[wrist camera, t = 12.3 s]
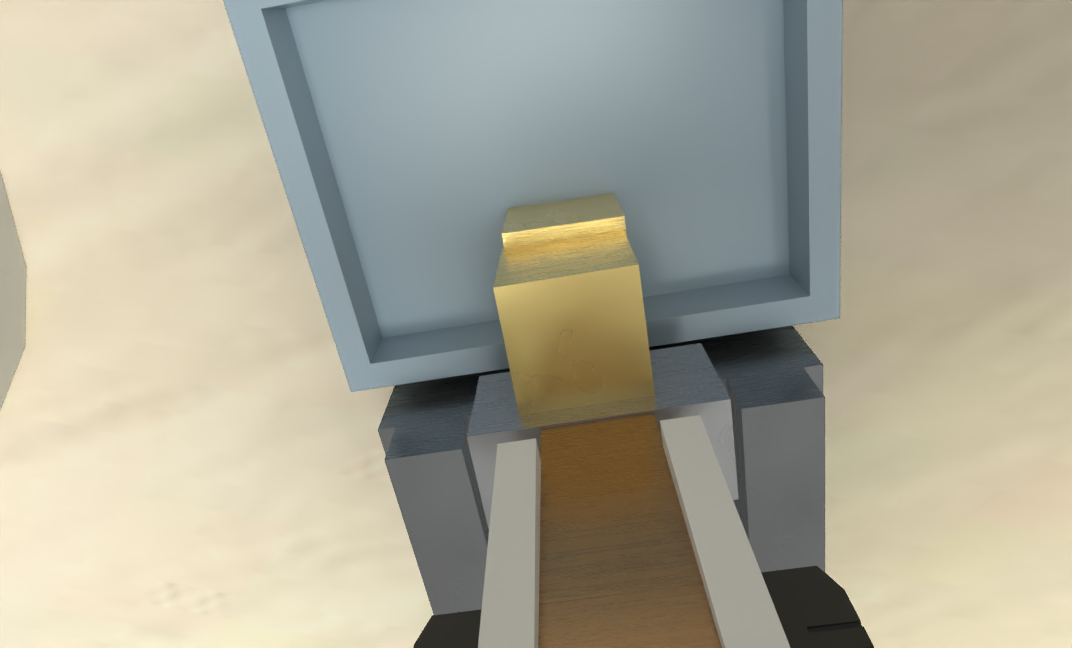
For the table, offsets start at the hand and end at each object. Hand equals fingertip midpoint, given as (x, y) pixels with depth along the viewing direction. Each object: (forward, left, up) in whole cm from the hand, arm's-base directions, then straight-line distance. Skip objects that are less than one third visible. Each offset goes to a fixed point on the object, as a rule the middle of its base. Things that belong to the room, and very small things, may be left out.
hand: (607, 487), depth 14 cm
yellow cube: (0, -2, -5) cm, 5 cm away
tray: (0, -5, -9) cm, 10 cm away
